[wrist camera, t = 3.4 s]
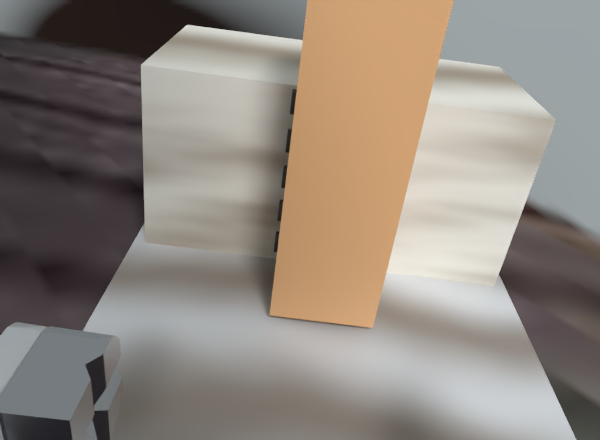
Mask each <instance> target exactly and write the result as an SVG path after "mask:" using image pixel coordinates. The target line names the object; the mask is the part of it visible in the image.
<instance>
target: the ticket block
mask: <svg viewBox="0 0 600 440" xmlns="http://www.w3.org/2000/svg"><path fill="white" fill-rule="evenodd" d="M302 43H303V40H296V39H289V38H281V37H274V36H266V35H259V34H252V33H244V32H237V31H230V30H222V29H214V28H207V27H200V26H192V25H187V26H185V27H184V28H183V29H182V30H181V31H180V32H178V33H177V34H176V35H175V36H174V37H173V38H172V39H171V40H169V41H168V42H167V43H166V44H165V45H164V46H162V47H161V48H160V49H159V50H158V51H157V52H155V53H154V54H153V55H152V56H151V57H150V58H148V59H147V60H146V61H145V62H144V63H143V64H141V88H142V131H143V174H144V218H145V223H144V224H143V226H142V228H141V230H140V231H139V233H138V235H137V237H136V238H135V240H134V242H133V244H132V245H131V247H130V249H129V251H128V252H127V254H126V256H125V258H124V259H123V261H122V263H121V265H120V266H119V268H118V270H117V272H116V273H115V275H114V277H113V279H112V280H111V282H110V284H109V286H108V287H107V289H106V291H105V293H104V294H103V296H102V298H101V300H100V301H99V303H98V305H97V307H96V308H95V310H94V312H93V314H92V315H91V317H90V319H89V321H88V322H87V324H86V326H85V328H84V329H83V331H86V332H93V333H100V334H106V335H113V336H116V337H118V338H119V339H120V350H121V357H120V359H119V361H118V363H117V366H116V368H115V369H116V370H117V372H118V373H119V374H120V375H121V376H122V383H123V391H122V402H121V407H120V411H119V415H118V419H117V423H116V426H115V428H114V431H113V434H112V436H111V439H110V440H576V438H575V436H574V434H573V432H572V430H571V428H570V425H569V423H568V421H567V419H566V417H565V415H564V413H563V410H562V408H561V406H560V404H559V402H558V400H557V398H556V395H555V393H554V391H553V389H552V387H551V385H550V383H549V380H548V378H547V376H546V374H545V372H544V370H543V368H542V366H541V363H540V361H539V359H538V357H537V355H536V353H535V351H534V348H533V346H532V344H531V342H530V340H529V338H528V336H527V333H526V331H525V329H524V327H523V325H522V323H521V321H520V318H519V316H518V314H517V312H516V310H515V308H514V306H513V303H512V301H511V299H510V297H509V295H508V293H507V291H506V288H505V286H504V284H503V282H502V280H501V278H500V276H499V272H500V269H501V267H502V264H503V261H504V259H505V256H506V253H507V251H508V248H509V245H510V243H511V240H512V237H513V234H514V232H515V229H516V226H517V224H518V221H519V218H520V216H521V213H522V210H523V208H524V205H525V202H526V200H527V197H528V194H529V192H530V189H531V186H532V184H533V181H534V178H535V176H536V173H537V170H538V167H539V165H540V162H541V159H542V157H543V154H544V151H545V149H546V146H547V143H548V141H549V138H550V135H551V133H552V130H553V127H554V124H555V122H556V120H555V119H554V118H553V117H552V116H551V115H550V114H549V113H548V112H547V111H546V110H545V109H544V108H543V107H542V106H541V105H539V104H538V103H537V102H536V101H535V100H534V99H533V98H532V97H531V96H530V95H529V94H528V93H527V92H526V91H524V90H523V89H522V88H521V87H520V86H519V85H518V84H517V83H516V82H515V81H514V80H513V79H512V78H511V77H509V76H508V75H507V74H506V73H505V72H504V71H503V70H502V69H501V68H500V67H496V66H489V65H481V64H474V63H466V62H459V61H452V60H443V59H439V62H438V66H437V70H436V74H435V78H434V82H433V86H432V90H431V94H430V98H429V102H428V106H427V110H426V114H425V118H424V123H423V127H422V131H421V135H420V139H419V143H418V147H417V151H416V155H415V159H414V163H413V167H412V171H411V175H410V179H409V183H408V187H407V191H406V195H405V200H404V204H403V208H402V212H401V216H400V220H399V224H398V228H397V232H396V236H395V240H394V244H393V248H392V252H391V256H390V260H389V264H388V268H387V272H386V277H385V281H384V285H383V289H382V293H381V297H380V301H379V305H378V309H377V313H376V317H375V321H374V325H373V328H369V327H361V326H353V325H344V324H336V323H328V322H320V321H312V320H304V319H295V318H287V317H279V316H271V315H270V307H271V298H272V290H273V282H274V274H275V265H276V257H277V249H278V241H279V233H280V224H281V216H282V208H283V200H284V191H285V183H286V175H287V167H288V158H289V150H290V142H291V134H292V125H293V117H294V109H295V101H296V92H297V84H298V76H299V68H300V59H301V51H302Z"/></svg>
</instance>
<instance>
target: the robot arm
mask: <svg viewBox="0 0 600 440" xmlns="http://www.w3.org/2000/svg"><path fill="white" fill-rule="evenodd" d="M120 357H121V350H120V339H119V338H118V337H116V336H113V335H106V334H100V333H93V332H86V331H79V330H72V329H65V328H58V327H51V326H50V327H46V326H39V325H32V324H26V323H19V322H15V323H13V324H12V325H10V326H8V327H7V328H6V329H5V330H4V331H3V332H2V334H1V335H0V440H110V439H111V436H112V434H113V431H114V428H115V426H116V423H117V419H118V415H119V411H120V407H121V402H122V391H123V383H122V376H121V375H120V374H119V373H118V372H117V370H116V369H115V368H116V366H117V363H118V361H119V359H120Z"/></svg>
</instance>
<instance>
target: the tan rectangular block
mask: <svg viewBox="0 0 600 440" xmlns="http://www.w3.org/2000/svg"><path fill="white" fill-rule="evenodd" d="M453 1H454V0H308V2H307V10H306V18H305V27H304V35H303V43H302V51H301V59H300V68H299V76H298V84H297V92H296V101H295V109H294V117H293V125H292V134H291V142H290V150H289V158H288V167H287V175H286V183H285V191H284V200H283V208H282V216H281V224H280V233H279V241H278V249H277V257H276V265H275V274H274V282H273V290H272V298H271V307H270V315H271V316H279V317H287V318H295V319H304V320H312V321H320V322H328V323H336V324H344V325H353V326H361V327H369V328H373V325H374V321H375V317H376V313H377V309H378V305H379V301H380V297H381V293H382V289H383V285H384V281H385V277H386V272H387V268H388V264H389V260H390V256H391V252H392V248H393V244H394V240H395V236H396V232H397V228H398V224H399V220H400V216H401V212H402V208H403V204H404V200H405V195H406V191H407V187H408V183H409V179H410V175H411V171H412V167H413V163H414V159H415V155H416V151H417V147H418V143H419V139H420V135H421V131H422V127H423V123H424V118H425V114H426V110H427V106H428V102H429V98H430V94H431V90H432V86H433V82H434V78H435V74H436V70H437V66H438V62H439V58H440V54H441V50H442V46H443V41H444V37H445V33H446V29H447V25H448V21H449V17H450V13H451V8H452V5H453Z"/></svg>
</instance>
